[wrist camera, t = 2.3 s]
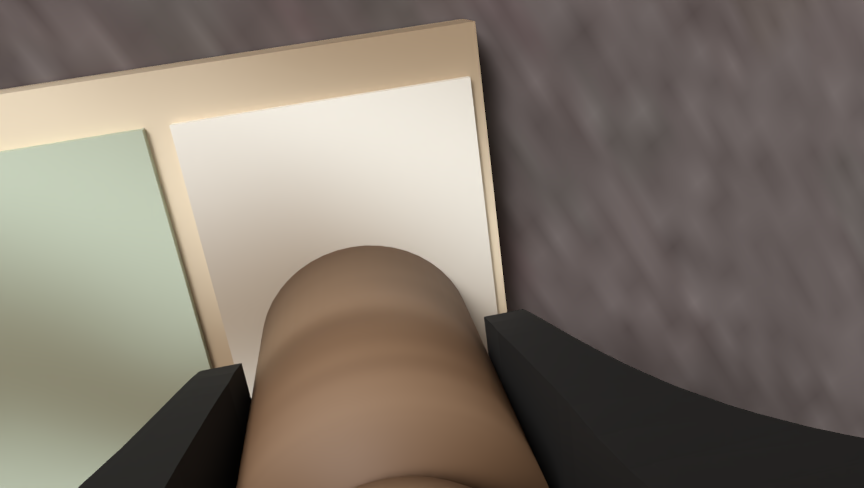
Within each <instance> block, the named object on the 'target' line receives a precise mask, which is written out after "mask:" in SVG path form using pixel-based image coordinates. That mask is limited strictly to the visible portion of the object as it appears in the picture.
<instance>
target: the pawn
mask: <svg viewBox="0 0 864 488" xmlns="http://www.w3.org/2000/svg"><path fill="white" fill-rule="evenodd" d="M236 488H549V487H548V484H547V482H546V480H545V478H544V476H543V473H542V471H541V469H540V467H539V465H538V462H537V460H536V458H535V456H534V454H533V451H532V449H531V447H530V445H529V443H528V440H527V438H526V436H525V434H524V432H523V430H522V427H521V425H520V423H519V421H518V419H517V416H516V414H515V412H514V410H513V408H512V405H511V403H510V401H509V399H508V397H507V394H506V392H505V390H504V388H503V386H502V383H501V381H500V379H499V377H498V375H497V373H496V370H495V368H494V366H493V364H492V362H491V359H490V357H489V355H488V353H487V351H486V348H485V346H484V344H483V342H482V340H481V337H480V335H479V333H478V331H477V329H476V326H475V324H474V322H473V320H472V318H471V316H470V313H469V311H468V309H467V307H466V305H465V302H464V300H463V298H462V297H461V295H460V293H459V291H458V289H457V288H456V287H455V285H454V284H453V283H452V281H451V280H450V279H449V278H448V277H447V276H446V275H445V274H444V273H443V272H442V271H441V270H440V269H439V268H437V267H436V266H435V265H433V264H432V263H431V262H429V261H427V260H425V259H424V258H422V257H420V256H418V255H415V254H413V253H410V252H408V251H405V250H401V249H397V248H394V247H386V246H369V245H365V246H356V247H349V248H345V249H341V250H337V251H334V252H331V253H329V254H326V255H323V256H321V257H319V258H318V259H316V260H314V261H312V262H310V263H309V264H307V265H306V266H304V267H303V268H301V269H300V270H299V271H298V272H296V273H295V274H294V275H293V276H292V277H291V278H290V279H289V280H288V281H287V282H286V283H285V284H284V286H283V287H282V288H281V289H280V291H279V292H278V294H277V295H276V297H275V298H274V300H273V302H272V304H271V306H270V308H269V311H268V313H267V316H266V320H265V323H264V327H263V333H262V339H261V345H260V351H259V356H258V362H257V368H256V374H255V380H254V386H253V392H252V398H251V404H250V410H249V415H248V421H247V427H246V433H245V439H244V445H243V451H242V457H241V463H240V469H239V474H238V480H237V486H236Z"/></svg>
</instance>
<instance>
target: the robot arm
mask: <svg viewBox="0 0 864 488" xmlns="http://www.w3.org/2000/svg"><path fill="white" fill-rule="evenodd" d="M484 322H485V331H486V339H487V347H488V355H489V357H490V359H491V362H492V364H493V366H494V368H495V370H496V373H497V375H498V377H499V379H500V381H501V383H502V386H503V388H504V390H505V392H506V394H507V397H508V399H509V401H510V403H511V405H512V408H513V410H514V412H515V414H516V416H517V419H518V421H519V423H520V425H521V427H522V430H523V432H524V434H525V436H526V438H527V440H528V443H529V445H530V447H531V449H532V451H533V454H534V456H535V458H536V460H537V462H538V465H539V467H540V469H541V471H542V473H543V476H544V478H545V480H546V482H547V484H548V487H549V488H864V438H860V437H854V436H849V435H844V434H840V433H835V432H830V431H825V430H821V429H816V428H812V427H807V426H803V425H799V424H796V423H792V422H788V421H784V420H780V419H776V418H772V417H768V416H764V415H761V414H757V413H753V412H750V411H747V410H743V409H740V408H737V407H733V406H730V405H727V404H724V403H721V402H718V401H715V400H713V399H710V398H707V397H704V396H701V395H698V394H695V393H693V392H690V391H687V390H684V389H682V388H679V387H676V386H674V385H671V384H669V383H666V382H664V381H662V380H659V379H657V378H655V377H653V376H650V375H648V374H646V373H644V372H641V371H639V370H637V369H635V368H633V367H630V366H628V365H626V364H624V363H622V362H620V361H618V360H616V359H614V358H612V357H610V356H608V355H606V354H604V353H602V352H600V351H598V350H596V349H594V348H592V347H591V346H589V345H587V344H585V343H583V342H581V341H580V340H578V339H576V338H574V337H572V336H571V335H569V334H567V333H565V332H564V331H562V330H560V329H558V328H556V327H555V326H553V325H551V324H549V323H548V322H546V321H544V320H542V319H541V318H539V317H537V316H535V315H534V314H532V313H530V312H528V311H526V310H523V309H522V310H517V311H512V312H506V313H501V314H496V315H491V316H485V317H484ZM250 404H251V396H250V393H249V389H248V385H247V381H246V378H245V374H244V370H243V366H242V363H239V364H234V365H229V366H223V367H218V368H213V369H208V370H202V371H199V372H198V373H197V374H196V375H194V376H193V377H192V378H191V379H190V380H189V381H188V382H187V383H186V384H185V385H184V386H183V387H182V388H181V389H180V390H179V391H178V392H177V393H176V394H175V395H174V396H173V397H172V398H171V399H170V400H169V401H168V402H167V403H166V404H165V405H164V406H163V407H162V408H161V409H160V410H159V411H158V412H157V413H156V414H155V415H154V416H153V417H152V418H151V419H150V420H149V421H148V422H147V423H146V424H145V425H144V426H143V427H142V428H141V429H140V430H139V431H138V432H137V433H136V434H135V435H134V436H133V437H132V438H131V439H130V440H129V441H128V442H127V443H126V444H125V445H124V446H123V447H122V448H121V449H120V450H118V451H117V452H116V453H115V454H114V455H113V456H112V457H111V458H110V459H109V460H107V461H106V462H105V463H104V464H103V465H102V466H101V467H100V468H99V469H98V470H97V471H95V472H94V473H93V474H92V475H91V476H90V477H89V478H88V479H87V480H86V481H84V482H83V483H82V484H81V485H80V486H79V487H78V488H236V486H237V480H238V474H239V469H240V463H241V457H242V451H243V445H244V439H245V433H246V427H247V421H248V415H249V410H250Z"/></svg>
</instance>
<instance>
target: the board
mask: <svg viewBox="0 0 864 488" xmlns="http://www.w3.org/2000/svg"><path fill="white" fill-rule="evenodd" d="M365 245H369V246H386V247H394V248H397V249H401V250H405V251H408V252H410V253H413V254H415V255H418V256H420V257H422V258H424V259H425V260H427V261H429V262H431V263H432V264H433V265H435V266H436V267H437V268H439V269H440V270H441V271H442V272H443V273H444V274H445V275H446V276H447V277H448V278H449V279H450V280H451V281H452V283H453V284H454V285H455V287H456V288H457V289H458V291H459V293H460V295H461V297H462V298H463V300H464V302H465V305H466V307H467V309H468V311H469V313H470V316H471V318H472V320H473V322H474V324H475V326H476V329H477V331H478V333H479V335H480V337H481V340H482V342H483V344H484V346H485V348H486V351H487V353H488V347H487V339H486V331H485V322H484V317H485V316H491V315H496V314H501V313H506V312H507V307H506V298H505V289H504V280H503V271H502V261H501V252H500V243H499V234H498V225H497V216H496V207H495V198H494V189H493V180H492V171H491V162H490V153H489V144H488V135H487V125H486V116H485V107H484V98H483V89H482V80H481V71H480V62H479V53H478V44H477V35H476V26H475V21H471V20H466V19H458V20H452V21H445V22H439V23H432V24H426V25H419V26H413V27H406V28H400V29H393V30H387V31H380V32H373V33H367V34H360V35H354V36H347V37H341V38H334V39H328V40H321V41H315V42H308V43H302V44H295V45H289V46H282V47H276V48H269V49H262V50H256V51H249V52H243V53H236V54H230V55H223V56H217V57H210V58H204V59H197V60H191V61H184V62H178V63H171V64H164V65H158V66H151V67H145V68H138V69H132V70H125V71H119V72H112V73H106V74H99V75H93V76H86V77H80V78H73V79H66V80H60V81H53V82H47V83H40V84H34V85H27V86H21V87H14V88H8V89H1V90H0V488H78V487H79V486H80V485H81V484H82V483H83V482H84V481H86V480H87V479H88V478H89V477H90V476H91V475H92V474H93V473H94V472H95V471H97V470H98V469H99V468H100V467H101V466H102V465H103V464H104V463H105V462H106V461H107V460H109V459H110V458H111V457H112V456H113V455H114V454H115V453H116V452H117V451H118V450H120V449H121V448H122V447H123V446H124V445H125V444H126V443H127V442H128V441H129V440H130V439H131V438H132V437H133V436H134V435H135V434H136V433H137V432H138V431H139V430H140V429H141V428H142V427H143V426H144V425H145V424H146V423H147V422H148V421H149V420H150V419H151V418H152V417H153V416H154V415H155V414H156V413H157V412H158V411H159V410H160V409H161V408H162V407H163V406H164V405H165V404H166V403H167V402H168V401H169V400H170V399H171V398H172V397H173V396H174V395H175V394H176V393H177V392H178V391H179V390H180V389H181V388H182V387H183V386H184V385H185V384H186V383H187V382H188V381H189V380H190V379H191V378H192V377H193V376H194V375H196V374H197V373H198V372H199V371H202V370H208V369H213V368H218V367H223V366H229V365H234V364H239V363H242V366H243V370H244V374H245V378H246V381H247V385H248V389H249V393H250V396H251V398H252V392H253V386H254V380H255V374H256V368H257V362H258V356H259V351H260V345H261V339H262V333H263V327H264V323H265V320H266V316H267V313H268V311H269V308H270V306H271V304H272V302H273V300H274V298H275V297H276V295H277V294H278V292H279V291H280V289H281V288H282V287H283V286H284V284H285V283H286V282H287V281H288V280H289V279H290V278H291V277H292V276H293V275H294V274H295V273H296V272H298V271H299V270H300V269H301V268H303V267H304V266H306V265H307V264H309V263H310V262H312V261H314V260H316V259H318V258H319V257H321V256H323V255H326V254H329V253H331V252H334V251H337V250H341V249H345V248H349V247H356V246H365Z"/></svg>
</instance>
